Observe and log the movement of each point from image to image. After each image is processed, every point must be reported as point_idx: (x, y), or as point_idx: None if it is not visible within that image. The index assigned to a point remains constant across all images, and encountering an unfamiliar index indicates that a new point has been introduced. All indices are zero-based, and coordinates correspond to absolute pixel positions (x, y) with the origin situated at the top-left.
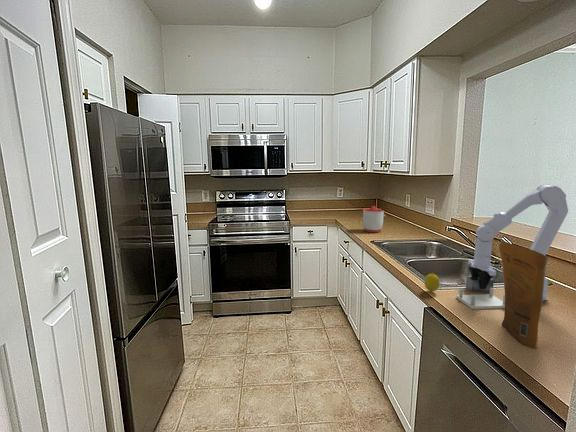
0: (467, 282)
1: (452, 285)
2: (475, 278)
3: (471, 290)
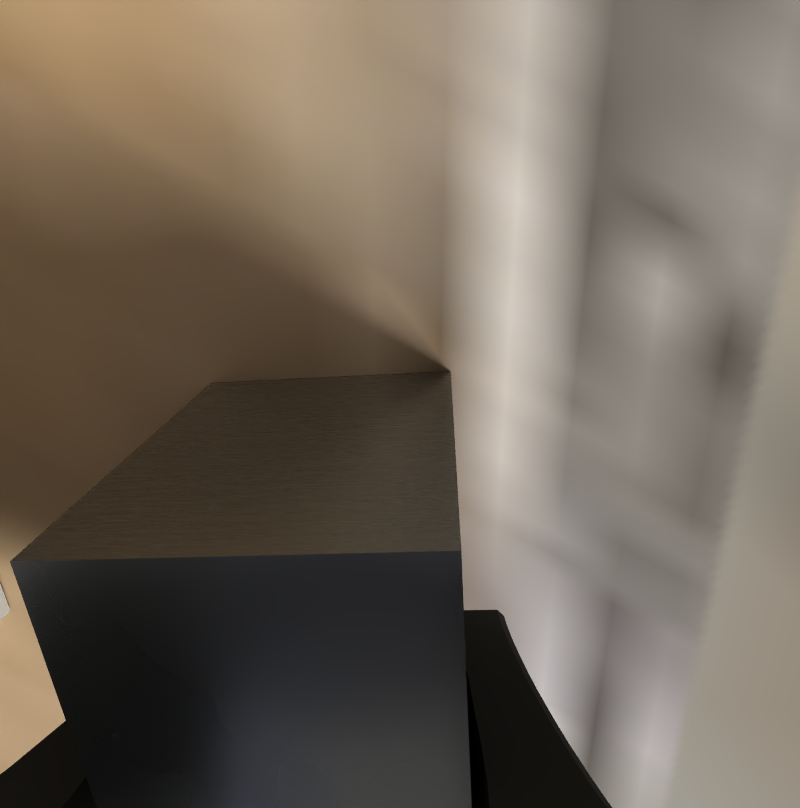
0: (379, 445)
1: (676, 90)
2: (250, 758)
3: (203, 393)
